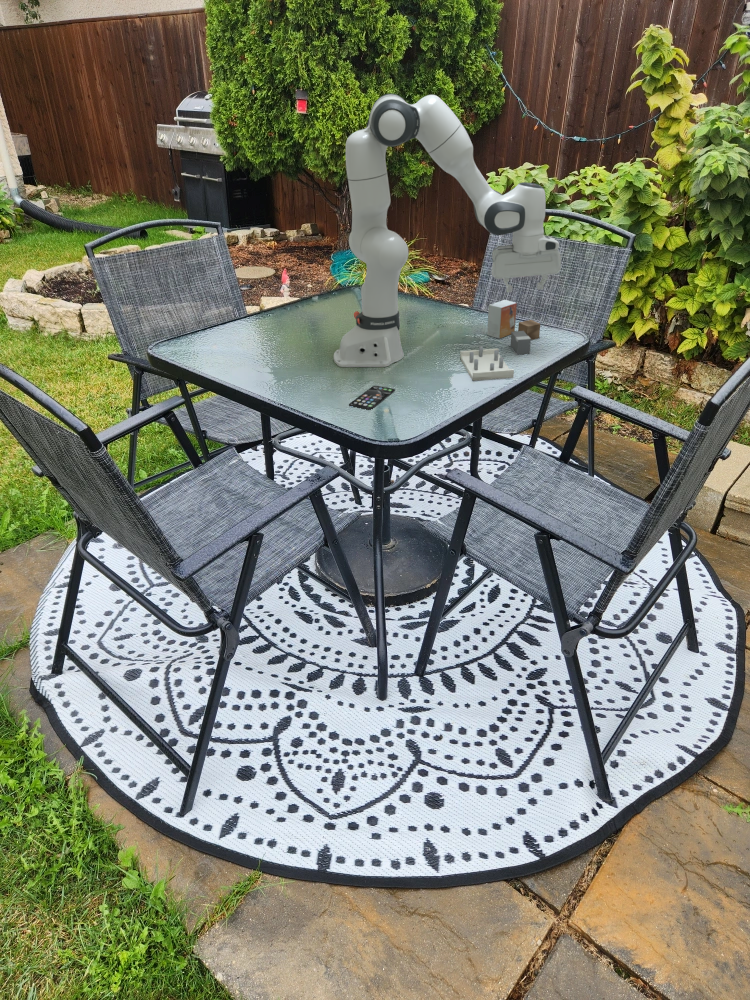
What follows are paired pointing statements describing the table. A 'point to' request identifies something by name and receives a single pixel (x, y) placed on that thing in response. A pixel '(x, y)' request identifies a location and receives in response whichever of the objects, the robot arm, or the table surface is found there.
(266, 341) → the table surface
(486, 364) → the peg board
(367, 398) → the smartphone
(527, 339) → the block
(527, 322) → the walnut block
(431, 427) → the table surface
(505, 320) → the small box
